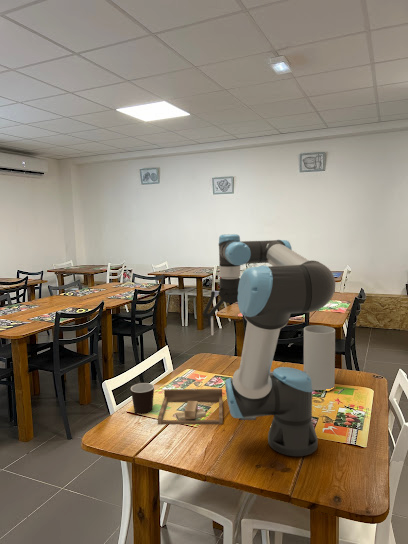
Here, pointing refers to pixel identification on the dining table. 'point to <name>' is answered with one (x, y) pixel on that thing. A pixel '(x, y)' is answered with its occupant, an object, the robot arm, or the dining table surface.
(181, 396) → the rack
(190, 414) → the offcut upper
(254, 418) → the mat
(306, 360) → the cylinder vase
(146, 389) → the coffee mug
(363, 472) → the dining table surface
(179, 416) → the offcut lower
